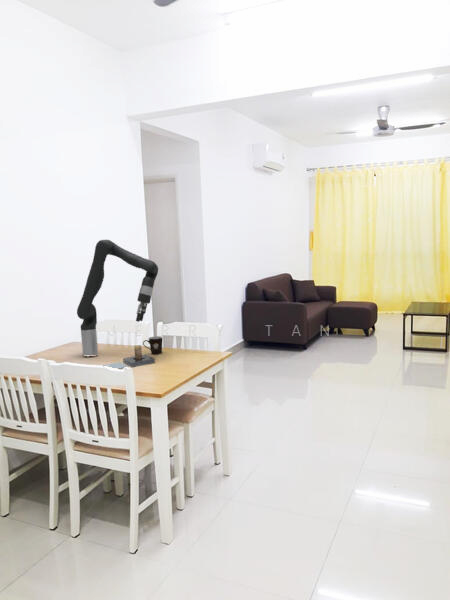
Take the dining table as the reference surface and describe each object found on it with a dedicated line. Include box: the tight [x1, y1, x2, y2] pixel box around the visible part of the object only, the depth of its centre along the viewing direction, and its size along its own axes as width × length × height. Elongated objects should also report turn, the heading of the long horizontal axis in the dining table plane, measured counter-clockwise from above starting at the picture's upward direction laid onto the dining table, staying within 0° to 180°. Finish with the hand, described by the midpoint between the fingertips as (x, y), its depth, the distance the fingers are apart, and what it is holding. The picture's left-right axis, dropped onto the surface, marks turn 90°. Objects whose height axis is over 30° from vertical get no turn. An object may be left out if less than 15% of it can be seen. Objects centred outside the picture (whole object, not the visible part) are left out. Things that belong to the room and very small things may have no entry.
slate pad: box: [102, 361, 129, 370], centre depth 276 cm, size 14×10×1 cm
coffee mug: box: [142, 335, 163, 356], centre depth 306 cm, size 12×9×10 cm
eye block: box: [122, 354, 156, 368], centre depth 283 cm, size 14×14×2 cm
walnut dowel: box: [133, 344, 143, 360], centre depth 283 cm, size 4×4×10 cm
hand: (138, 321), depth 286 cm, fingers open, 8 cm apart
